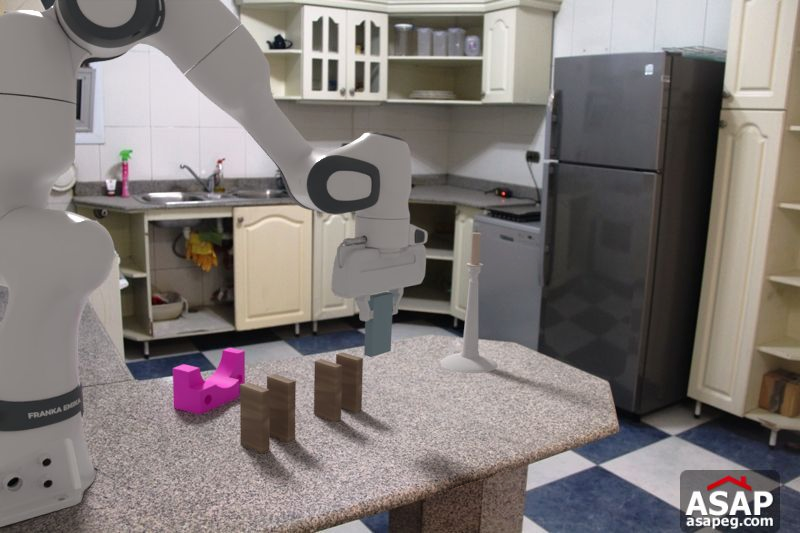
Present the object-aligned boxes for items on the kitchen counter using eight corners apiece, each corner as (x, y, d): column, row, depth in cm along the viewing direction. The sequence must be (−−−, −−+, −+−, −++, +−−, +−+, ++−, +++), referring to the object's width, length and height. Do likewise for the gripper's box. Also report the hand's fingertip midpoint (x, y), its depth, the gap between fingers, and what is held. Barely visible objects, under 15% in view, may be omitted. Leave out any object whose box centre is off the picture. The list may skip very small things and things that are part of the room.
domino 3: (334, 422, 125) (335, 367, 123) (313, 415, 128) (314, 361, 126) (340, 420, 126) (342, 365, 125) (320, 412, 129) (321, 359, 128)
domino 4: (355, 413, 129) (357, 360, 128) (335, 406, 132) (336, 354, 131) (361, 411, 131) (362, 358, 129) (341, 404, 134) (342, 352, 132)
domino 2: (287, 442, 117) (288, 383, 115) (266, 433, 120) (266, 376, 118) (295, 439, 118) (295, 380, 116) (274, 431, 121) (274, 373, 119)
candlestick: (494, 380, 150) (503, 236, 145) (434, 372, 153) (440, 232, 148) (502, 362, 162) (510, 229, 157) (446, 355, 166) (452, 225, 160)
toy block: (200, 415, 127) (199, 374, 125) (173, 408, 130) (172, 368, 128) (255, 390, 140) (255, 353, 138) (229, 384, 143) (229, 347, 141)
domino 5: (390, 351, 123) (393, 293, 121) (371, 357, 119) (373, 297, 117) (383, 349, 123) (385, 291, 122) (364, 355, 120) (366, 295, 118)
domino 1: (261, 453, 112) (261, 392, 110) (240, 444, 115) (240, 384, 113) (269, 450, 114) (269, 389, 112) (248, 441, 117) (248, 382, 115)
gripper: (353, 241, 108) (351, 331, 110) (433, 232, 124) (429, 311, 126) (323, 236, 112) (321, 324, 114) (404, 228, 127) (401, 304, 130)
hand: (378, 317), depth 120 cm, fingers closed on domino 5, 5 cm apart
